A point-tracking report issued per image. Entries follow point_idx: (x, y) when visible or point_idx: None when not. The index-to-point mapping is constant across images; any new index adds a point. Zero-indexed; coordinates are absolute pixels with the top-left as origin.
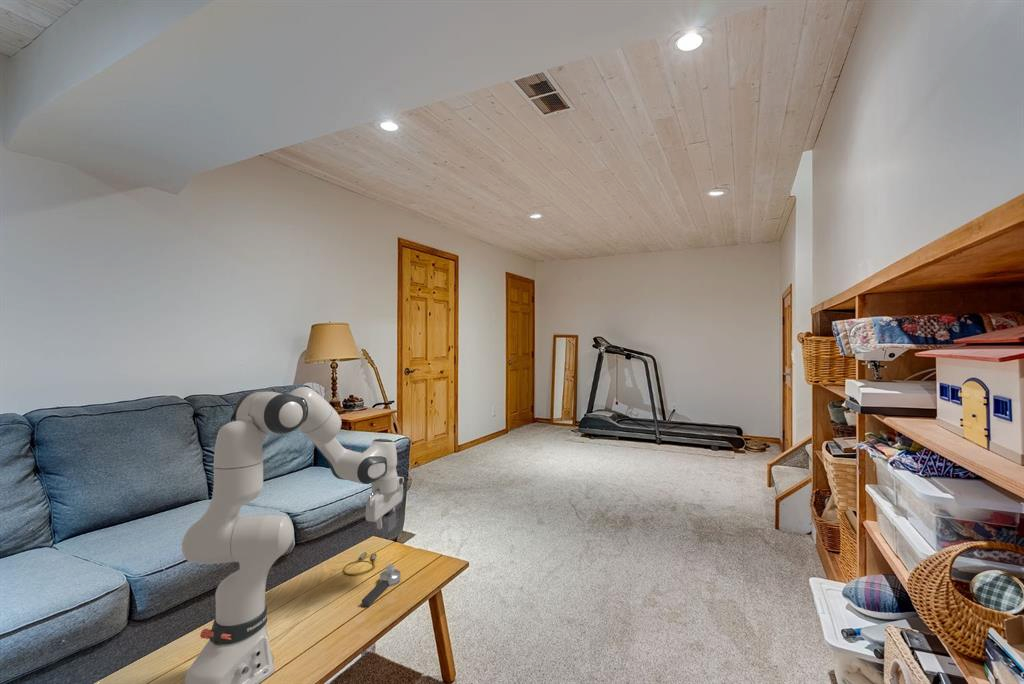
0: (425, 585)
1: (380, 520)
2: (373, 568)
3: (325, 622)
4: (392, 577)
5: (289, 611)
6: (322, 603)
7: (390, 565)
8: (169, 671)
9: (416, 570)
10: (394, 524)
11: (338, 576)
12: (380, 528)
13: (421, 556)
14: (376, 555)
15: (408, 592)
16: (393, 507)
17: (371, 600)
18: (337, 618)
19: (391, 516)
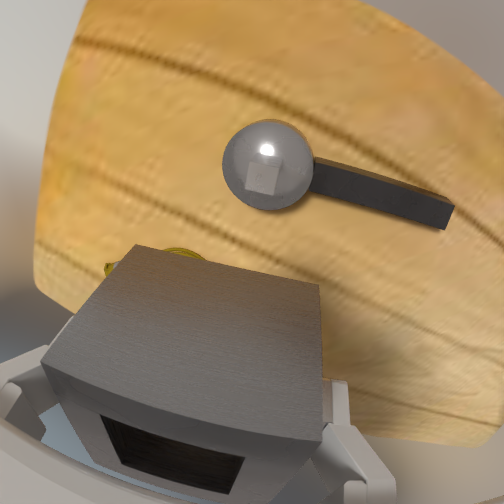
0: (302, 7)
1: (390, 475)
2: (183, 250)
3: (484, 293)
4: (298, 149)
5: (408, 378)
6: (394, 331)
7: (259, 176)
8: (498, 425)
9: (177, 79)
10: (165, 271)
11: None
12: (343, 387)
13: (77, 105)
14: (107, 263)
15: (361, 65)
16: (6, 410)
17: (435, 196)
18: (478, 271)
19: (205, 405)
